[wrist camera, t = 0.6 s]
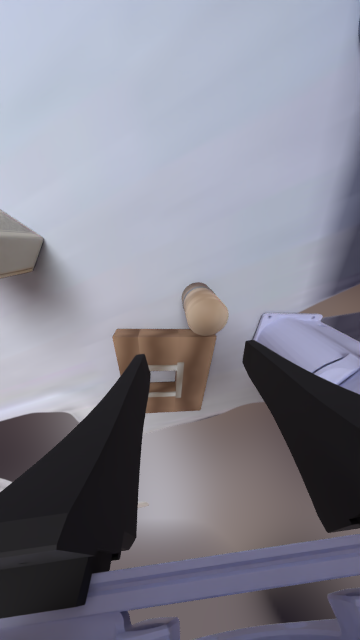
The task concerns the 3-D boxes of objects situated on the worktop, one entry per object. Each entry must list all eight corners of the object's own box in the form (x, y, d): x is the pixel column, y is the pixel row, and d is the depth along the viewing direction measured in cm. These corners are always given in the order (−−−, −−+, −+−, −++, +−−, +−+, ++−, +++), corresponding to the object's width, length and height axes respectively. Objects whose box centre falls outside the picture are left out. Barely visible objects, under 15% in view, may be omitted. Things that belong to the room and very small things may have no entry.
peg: (214, 282, 18) (233, 299, 13) (209, 311, 20) (224, 336, 15) (182, 281, 18) (188, 298, 13) (180, 311, 20) (185, 336, 14)
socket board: (212, 329, 22) (216, 337, 20) (198, 400, 30) (200, 411, 28) (117, 328, 20) (111, 338, 18) (131, 403, 29) (128, 415, 27)
